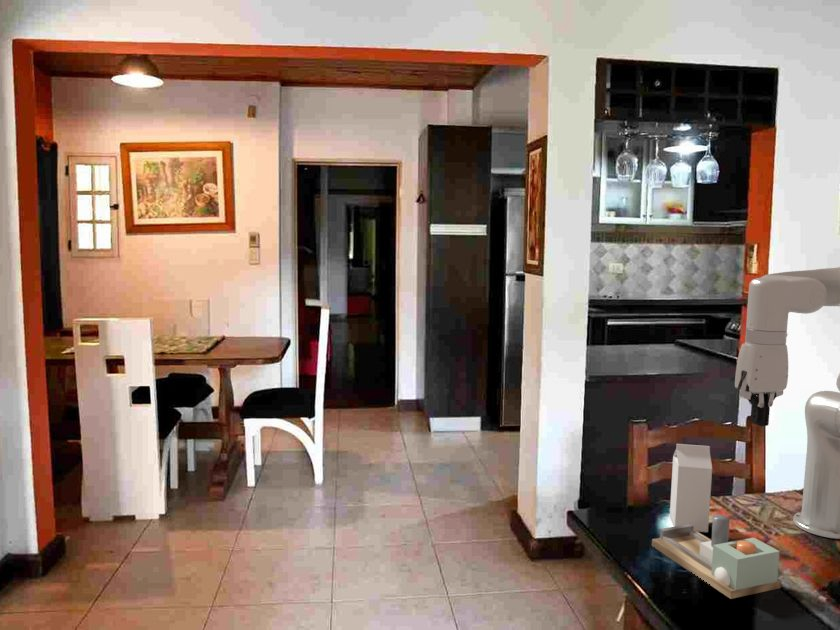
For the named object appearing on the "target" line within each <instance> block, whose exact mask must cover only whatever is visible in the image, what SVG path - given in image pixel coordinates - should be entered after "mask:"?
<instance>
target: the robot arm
mask: <svg viewBox="0 0 840 630" xmlns="http://www.w3.org/2000/svg"><path fill="white" fill-rule="evenodd" d="M748 284H749V285H748V294H747V308H746V309H747V311H746V326H745V327H746V328H745V337H744V338H745V339H744V340H745V341H744V343H742V344H741V346H740V349H739V352H738V357H737V361H736V368H735V377H734V378H735V379H734V387H735V389H737V390H740V391H739V395H738V396H739V398H742V399H745V400H748V404H749V405H751V406H750V420H749V421H750V423H751V424H753V425H757V426H759V427H767V426H769V423H770V422H769V421H770V412H771V411H770V410H771V409H770V408H772V407H773V404H774V401H775V399H776V398H777V397H780V396H783V395H784V390H786V388H787V386H788V381H789V380H788V379H789V353H788V346H787V344H786V343H787V337H788V324H789V323H788V320H789V313H793V314H794V313H797V314H805V315H806V314H807V315H808V314H812V313H815V312H817V311H820V310H821V309H822V308H823V307H840V266H839V267H827V268H817V269H807V270H795V271H793V270H792V271H783V272H782V271H781V272H776V273H775V272H774V273H769V274H768V273H767V274H765V275H762V276H760V277H757V278H754V279H752V280H750V282H749V283H748ZM836 388H837V390H838V391H833V390H821V391H816V392H814V393H813V394H811V395H810V396H809V397H808V399H807V400H806V402H805V405H804V419H805V425H806V434H807V438H806V440H807V441H806V442H807V443H806V456H805V466H804V479H803V488H802V492H803V493H802V500H801V501H802V504H801V511H800V512H795V514H794V515H793V516H792V520H793V523H794V525H795V526H797V527H798V528H800V529H801V530H803V531H805V532H807V533H809V534H811V535H812V534H813V535H815V536H819V537H823V538H829V539H836V540H837V539H838V540H840V373H839V374H838V375H837V378H836Z"/></svg>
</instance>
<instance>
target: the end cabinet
mask: <svg viewBox="0 0 840 630" xmlns="http://www.w3.org/2000/svg"><path fill="white" fill-rule="evenodd" d="M738 541H748V542H751V543H753V544H755V546H756V550H755V554H750V555H745V554H743V553H742V552H740V551H738V550H737V542H738ZM779 560H780V550H778V549H776V548H774V547H772V546H771V545H769V544H766V543H765V542H763V541H762V540H759V539H758V538H756V537H750V538H745V539H739V540H732V541H728V542H727V543H721V544H716V545H713V556H712V571H711V575H713V576H714V577H715V579H717V580H718V581H720V582H721V583H723V584H724V585H726V586H727V587H728V586H730V587H731V588H733V589H734V590H741V592H742V589H743V591H744V592H743V593H744V594H745V589H744V588H762V587H760V586H761V585H763V584H765V586H766V585H767V586H770V583H771V584H772V586H773V584H774V583H772V582H777V578H778V574H779V563H780V562H779ZM767 583H768V584H769V585H768V584H767ZM758 585H760V586H759V587H758ZM774 585H776V583H775V584H774ZM754 586H757V587H754ZM776 586H777V585H776ZM763 588H764V585H763ZM767 588H768V587H767ZM773 588H777V587H773ZM750 590H751V591H752V589H750ZM750 590H749V591H750ZM753 590H754V589H753ZM761 590H762V591H763V590H765V589H761ZM749 591H748V592H749ZM758 591H759V589H758ZM758 591H757V592H758ZM769 591H772V590H771V589H770V590H769ZM735 592H736V591H735ZM754 592H755V591H754ZM765 592H768V591H767V589H766V591H765ZM750 593H751V592H750ZM755 593H756V592H755ZM759 593H762V592H761V591H759V592H758V593H756V594H759ZM735 594H737V593H735ZM744 594H743V595H744ZM739 595H740V594H739ZM751 595H754V594H753V592H752V594H751ZM747 596H750V595H749V594H747ZM736 597H737V596H735V598H734V599H736ZM737 598H740V597H739V596H738V597H737Z"/></svg>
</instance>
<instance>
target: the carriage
mask: <svg viewBox="0 0 840 630" xmlns="http://www.w3.org/2000/svg"><path fill="white" fill-rule="evenodd" d="M730 521H731V519H730V517H728V516H726V515H724V514H714V515H712V526H711V527H712V528H711V541H707V542H702V543H700V553H699V556H700V557H702V558H703V559H705V560H706V561H708V562H709V563H711V564H712V556H713V545H716V544H721V543H727V542H729V536H730V535H729V533H730Z"/></svg>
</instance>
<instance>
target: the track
mask: <svg viewBox="0 0 840 630" xmlns="http://www.w3.org/2000/svg"><path fill="white" fill-rule="evenodd" d="M693 527H694V526H693V525H691V524H687V525H681V526H675V527H674V526H671V527H670V526H669V527H665V528H660V530H659V537H657V538H652V539H651V546H652V548H654V547H655V548H654V549H656V550H657V551H659V552H660V553H661V554H663V555H664V556H666V557H668V558H669V559H670V560H672V561H673V562H675V563H677V564H678V565H679V566H681V567H682V568H684V569H685V570H687V571H688V572H689V573H691V572H692V573H691V574H693V575H694V574H695V575H694V576H696V577H697V576H698V578H699V579H700V578H701V581H703V580H704V581H703V582H704V583H706V582H707V583H706V584H707V585H709V584H710V585H709V586H711V587H712V588H714V589H715V590H716V591H718V592H719V593H721V594H723V595H724V596H725V597H727V598H729V599H730V600H732V599H736V598H741V597H746V596H751V595H755V594H759V593H758V592H759V591H761V592H760V593H765V592H769V591H773V590H777V589H781V585H782V580H780V579H779V578H778V577H777V582H772V583H774V584H775V583H776V585H777V586H776V585H774V584H773V586H772V584H771V583H770V586H767V585H766V586H765V584H763V585H764V588H763V585H761V586H760V585H758V587H759V586H760V587H762V588H744V589H745V594H744V593H743V592H744V591H743V589H742V592H741V590H734V589H733V588H731V587H730V586H728V587H727V586H726V585H724V584H723V583H721V582H720V581H718V580H717V579H715V577H714V576H713V575H711V571H712V564H711V563H709V562H708V561H706V560H705V559H703V558H702V557H700V556H699V553H700V543H702V542H707V541H711V540H712V538H709V537H708V536H706V535H704V534H702V532H698V531H693ZM767 584H768V583H767ZM768 585H769V584H768ZM754 587H757V586H754ZM767 587H768V588H767ZM773 587H777V588H773ZM750 589H752V591H751V590H750ZM753 589H754V590H753ZM758 589H759V591H758ZM761 589H765V590H763V591H762V590H761ZM766 589H767V591H766ZM770 589H771V590H770ZM749 590H750V591H749ZM735 591H736V592H735ZM748 591H749V592H748ZM754 591H755V592H756V593H755V592H754ZM757 591H758V592H757ZM750 592H751V593H750ZM752 592H753V594H752ZM735 593H737V594H735ZM739 594H740V595H739ZM743 594H744V595H743ZM747 594H749V595H747ZM735 596H737V597H736V598H735ZM738 596H739V597H738Z"/></svg>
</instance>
